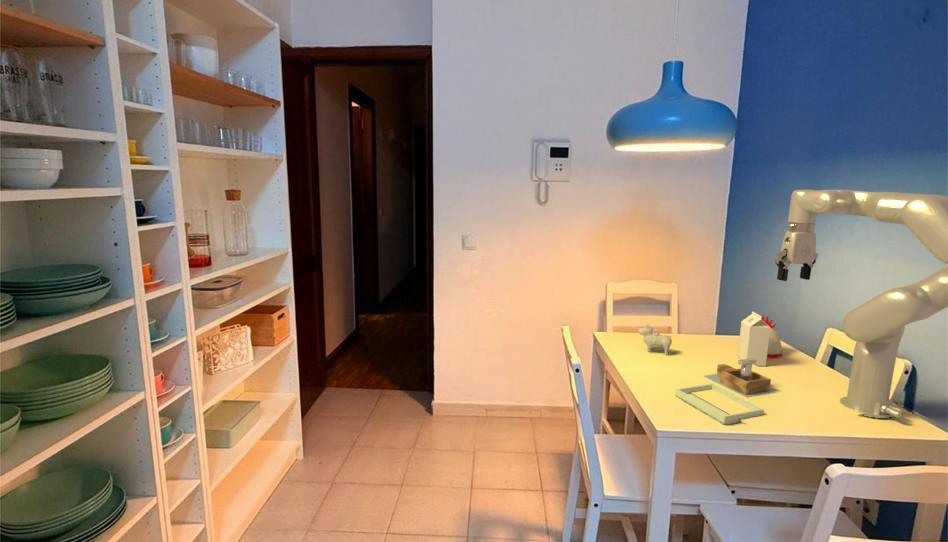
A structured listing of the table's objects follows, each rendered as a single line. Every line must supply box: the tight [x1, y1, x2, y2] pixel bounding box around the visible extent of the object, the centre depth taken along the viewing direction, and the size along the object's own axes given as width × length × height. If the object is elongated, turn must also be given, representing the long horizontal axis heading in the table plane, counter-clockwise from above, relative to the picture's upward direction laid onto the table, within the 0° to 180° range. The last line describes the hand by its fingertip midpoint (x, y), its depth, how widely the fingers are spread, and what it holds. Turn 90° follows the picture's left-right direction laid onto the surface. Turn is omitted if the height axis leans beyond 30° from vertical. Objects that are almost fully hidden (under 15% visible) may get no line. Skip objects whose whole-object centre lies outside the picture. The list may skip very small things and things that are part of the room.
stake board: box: [703, 373, 777, 398], centre depth 159 cm, size 18×12×1 cm, turn 18°
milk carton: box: [737, 311, 770, 367], centre depth 179 cm, size 7×7×19 cm
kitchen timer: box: [762, 315, 783, 359], centre depth 192 cm, size 14×14×15 cm
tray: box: [675, 383, 765, 426], centre depth 145 cm, size 19×14×2 cm
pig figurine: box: [637, 324, 673, 356], centre depth 192 cm, size 5×13×11 cm, turn 61°
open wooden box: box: [716, 363, 772, 395], centre depth 159 cm, size 15×10×4 cm, turn 18°
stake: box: [737, 358, 756, 381], centre depth 156 cm, size 3×6×9 cm, turn 108°
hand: (793, 279), depth 160 cm, fingers open, 9 cm apart
